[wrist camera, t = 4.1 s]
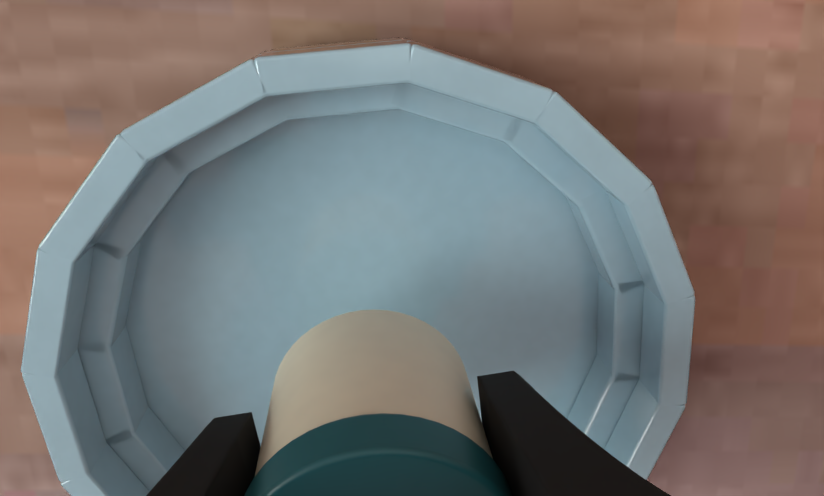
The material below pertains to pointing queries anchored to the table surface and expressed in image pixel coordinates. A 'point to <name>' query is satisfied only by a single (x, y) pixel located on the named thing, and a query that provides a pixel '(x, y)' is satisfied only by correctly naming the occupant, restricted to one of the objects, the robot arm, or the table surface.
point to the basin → (351, 255)
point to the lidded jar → (374, 415)
